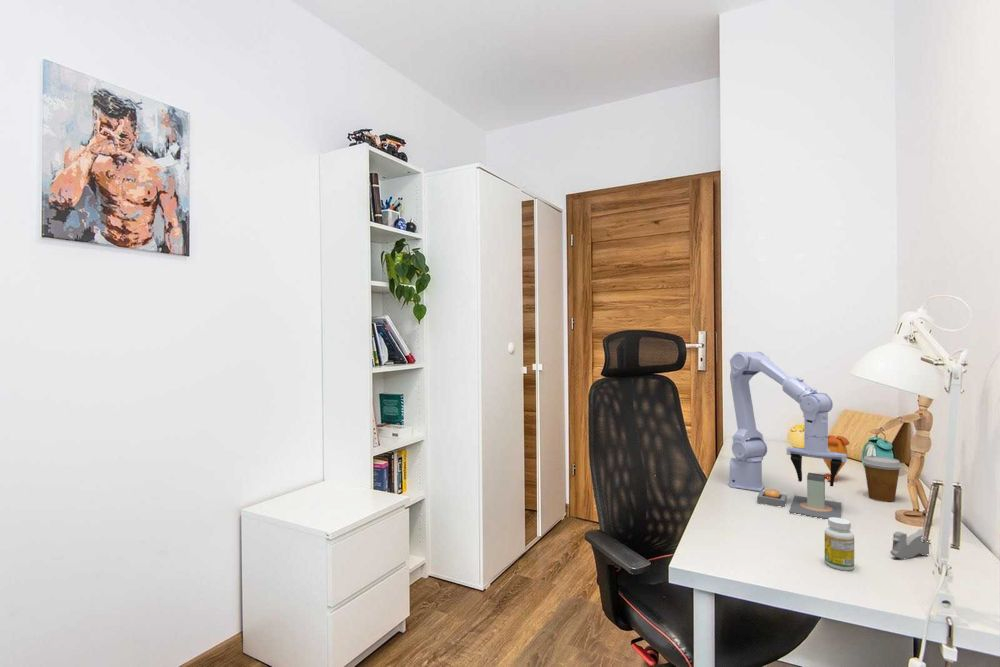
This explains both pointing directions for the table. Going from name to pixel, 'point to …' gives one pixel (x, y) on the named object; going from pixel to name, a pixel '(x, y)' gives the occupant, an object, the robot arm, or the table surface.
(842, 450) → the toy figure
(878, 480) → the disposable coffee cup
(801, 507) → the drawing mat
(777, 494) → the button
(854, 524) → the table surface
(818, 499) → the grey and green block
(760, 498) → the button housing
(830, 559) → the supplement bottle
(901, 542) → the grey tape dispenser
